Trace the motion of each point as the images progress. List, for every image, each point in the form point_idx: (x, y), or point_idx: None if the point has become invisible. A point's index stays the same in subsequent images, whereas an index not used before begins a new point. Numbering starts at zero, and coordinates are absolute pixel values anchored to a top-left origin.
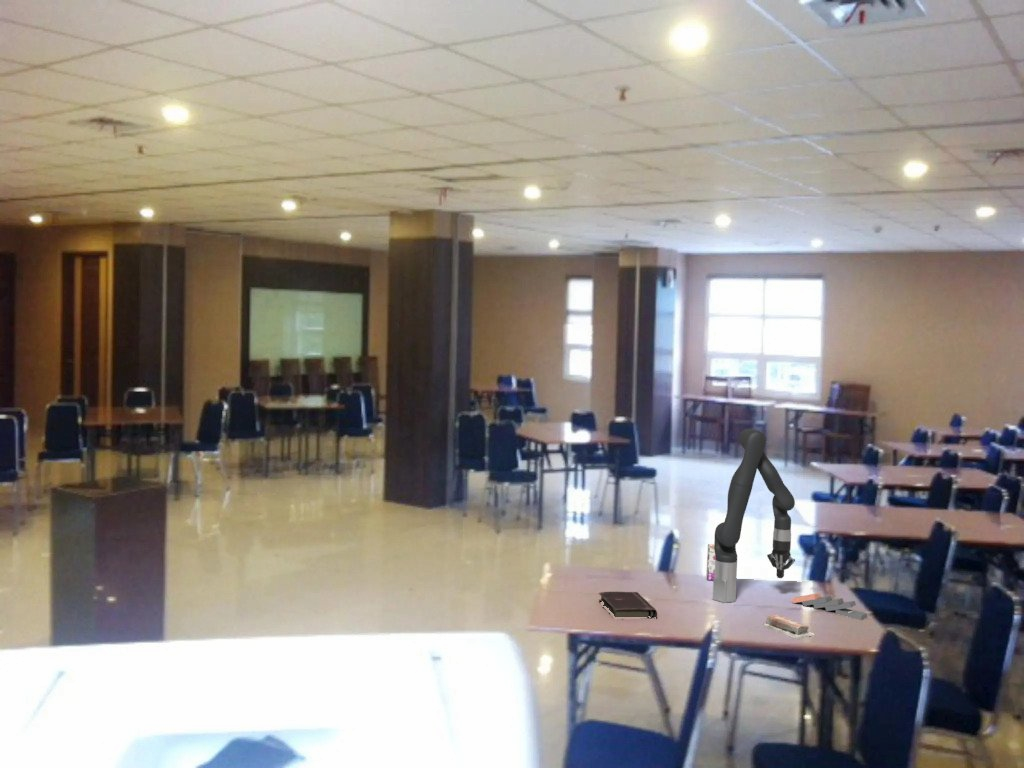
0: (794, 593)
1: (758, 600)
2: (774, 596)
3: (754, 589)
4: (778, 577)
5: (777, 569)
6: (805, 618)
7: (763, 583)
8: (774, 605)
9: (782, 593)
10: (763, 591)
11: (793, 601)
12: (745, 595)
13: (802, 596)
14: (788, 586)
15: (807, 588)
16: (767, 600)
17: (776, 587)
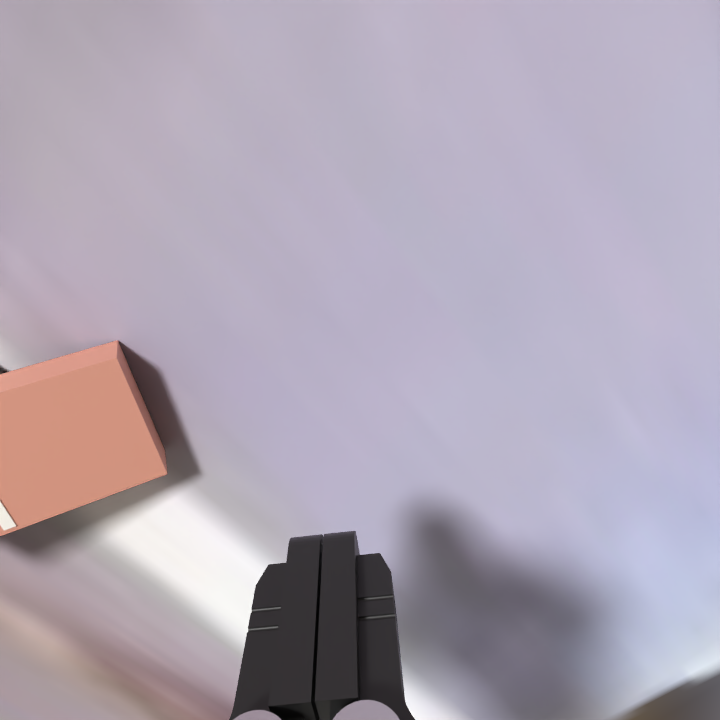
0: None
1: (416, 55)
2: (406, 379)
3: (694, 402)
4: (328, 535)
5: (379, 703)
6: None
7: (707, 590)
8: (125, 52)
9: (424, 510)
10: (587, 422)
11: (97, 353)
12: (673, 101)
13: (25, 462)
14: (512, 663)
15: None
16: (346, 176)
17: (565, 589)
